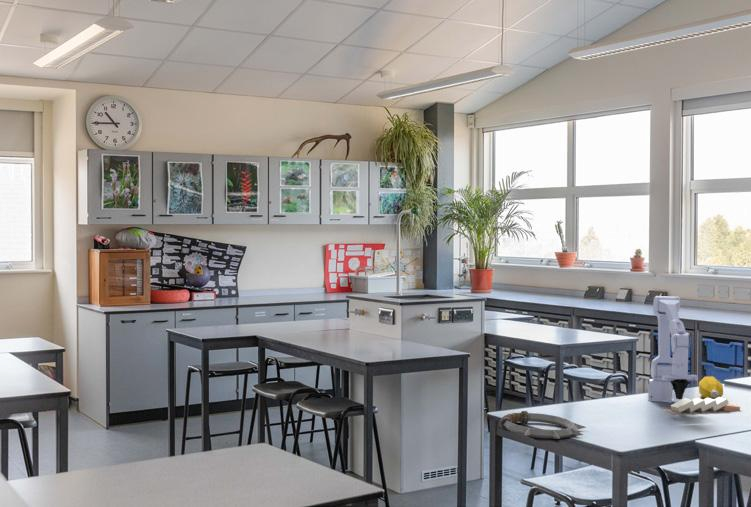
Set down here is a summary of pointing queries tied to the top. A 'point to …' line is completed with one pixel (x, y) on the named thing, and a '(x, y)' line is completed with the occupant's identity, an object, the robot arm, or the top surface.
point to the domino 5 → (730, 408)
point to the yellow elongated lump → (710, 388)
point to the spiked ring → (524, 417)
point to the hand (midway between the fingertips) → (679, 398)
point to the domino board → (692, 412)
